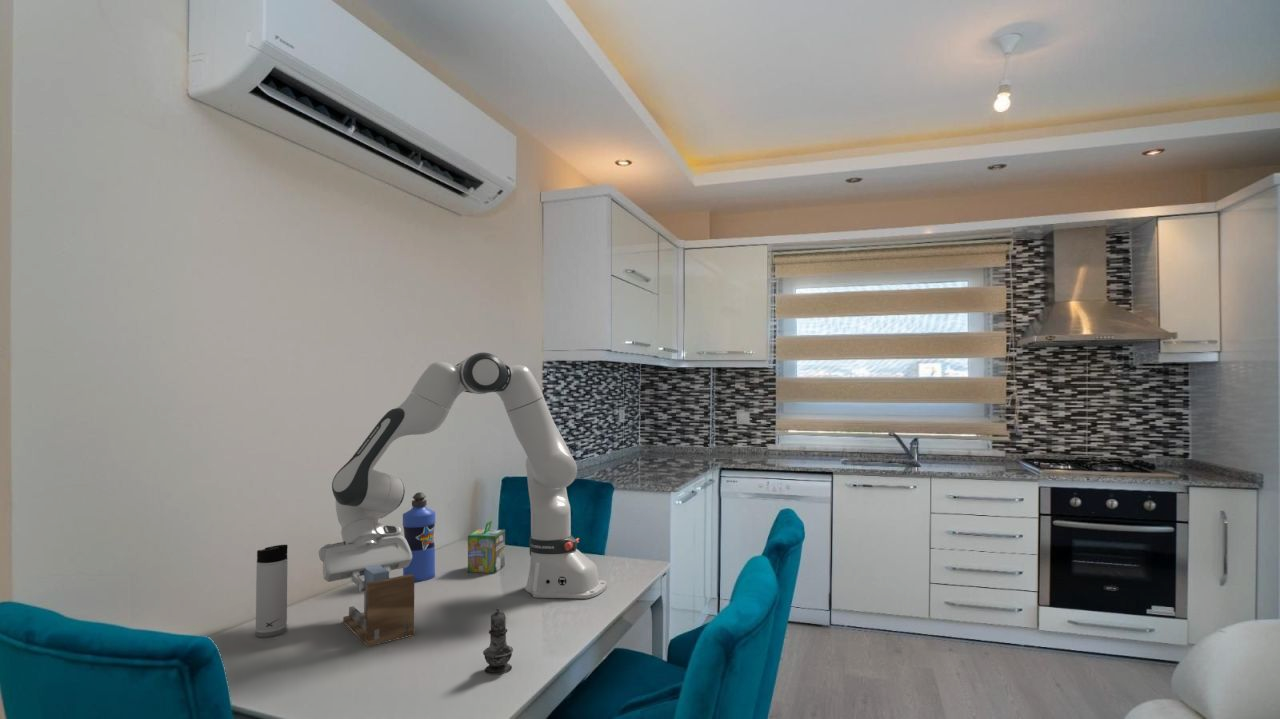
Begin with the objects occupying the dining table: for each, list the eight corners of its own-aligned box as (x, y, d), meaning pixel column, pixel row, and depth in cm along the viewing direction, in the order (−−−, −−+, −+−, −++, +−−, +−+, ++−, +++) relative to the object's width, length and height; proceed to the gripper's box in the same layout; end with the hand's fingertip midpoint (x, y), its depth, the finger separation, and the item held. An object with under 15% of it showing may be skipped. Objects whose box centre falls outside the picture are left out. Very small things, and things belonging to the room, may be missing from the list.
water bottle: (442, 575, 193) (442, 491, 194) (416, 583, 185) (416, 496, 186) (421, 571, 198) (421, 489, 199) (395, 579, 190) (396, 494, 191)
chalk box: (478, 565, 204) (477, 518, 205) (505, 565, 203) (505, 518, 204) (466, 573, 195) (466, 524, 196) (495, 574, 194) (495, 524, 195)
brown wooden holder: (343, 621, 155) (343, 566, 155) (385, 612, 161) (385, 559, 162) (368, 646, 139) (368, 584, 140) (414, 634, 146) (414, 575, 146)
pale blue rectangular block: (364, 614, 153) (364, 567, 153) (379, 611, 155) (379, 565, 155) (373, 622, 147) (373, 573, 148) (388, 618, 149) (388, 571, 150)
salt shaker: (485, 663, 130) (485, 603, 130) (515, 662, 130) (514, 601, 131) (480, 676, 124) (480, 613, 124) (511, 674, 124) (511, 611, 125)
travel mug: (274, 638, 145) (275, 548, 146) (248, 637, 146) (250, 548, 147) (294, 628, 151) (295, 542, 152) (269, 627, 152) (271, 541, 153)
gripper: (319, 538, 152) (330, 589, 144) (406, 525, 165) (420, 572, 157) (315, 553, 156) (324, 604, 147) (400, 540, 168) (413, 586, 160)
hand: (374, 587), depth 152 cm, fingers closed on pale blue rectangular block, 3 cm apart
